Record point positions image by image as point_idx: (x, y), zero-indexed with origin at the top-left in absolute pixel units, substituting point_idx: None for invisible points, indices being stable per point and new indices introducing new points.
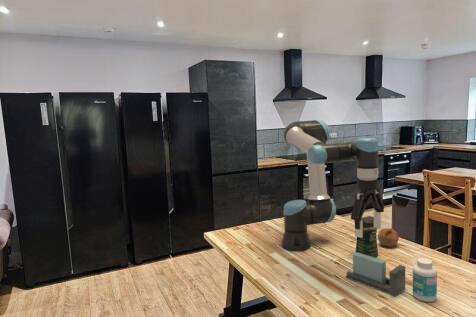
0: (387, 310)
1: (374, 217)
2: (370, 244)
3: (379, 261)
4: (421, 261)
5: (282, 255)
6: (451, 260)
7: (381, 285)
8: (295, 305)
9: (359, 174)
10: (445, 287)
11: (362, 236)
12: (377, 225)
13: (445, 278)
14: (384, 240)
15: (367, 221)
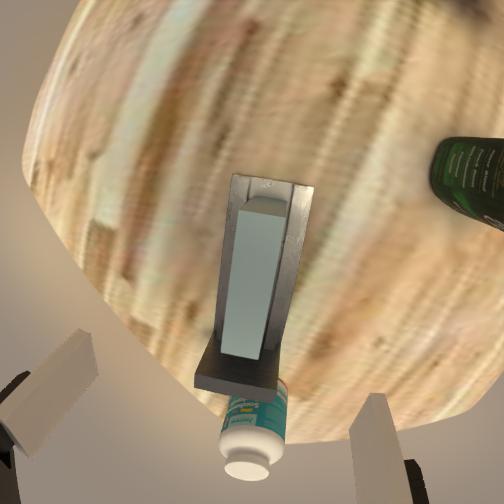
0: (142, 336)
1: (383, 474)
2: (475, 213)
3: (237, 342)
4: (233, 467)
5: None
6: (485, 381)
7: (219, 313)
8: (34, 153)
9: None
10: (337, 412)
11: (94, 377)
12: (360, 432)
13: None
14: None
15: None
